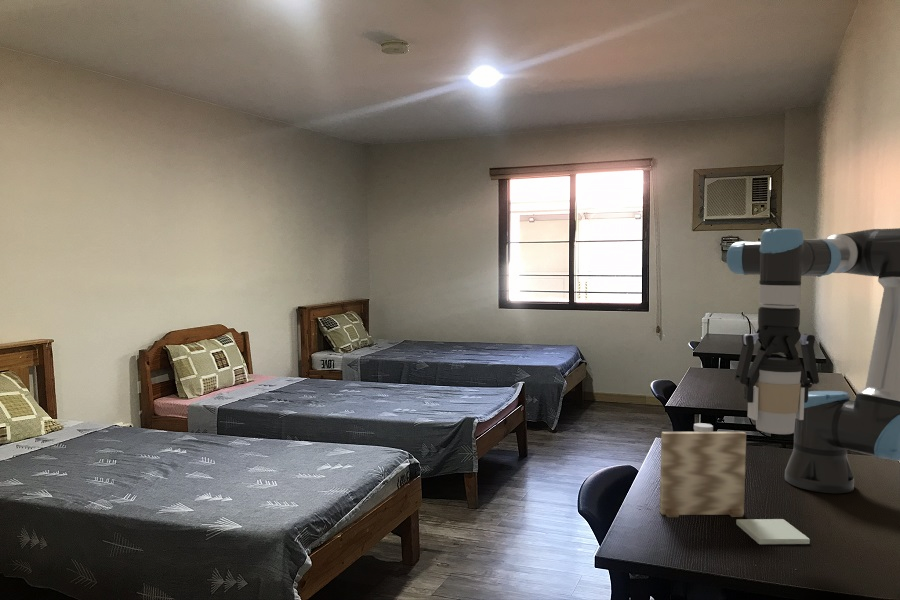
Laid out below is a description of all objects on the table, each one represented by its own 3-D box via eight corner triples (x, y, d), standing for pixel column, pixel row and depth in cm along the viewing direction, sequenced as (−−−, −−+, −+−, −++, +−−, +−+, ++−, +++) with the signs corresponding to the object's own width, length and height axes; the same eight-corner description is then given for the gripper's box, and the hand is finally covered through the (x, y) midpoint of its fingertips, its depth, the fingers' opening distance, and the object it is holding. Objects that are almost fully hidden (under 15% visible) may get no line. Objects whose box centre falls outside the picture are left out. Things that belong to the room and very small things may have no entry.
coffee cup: (806, 437, 130) (809, 360, 129) (756, 434, 131) (758, 358, 130) (792, 425, 138) (795, 353, 137) (745, 423, 140) (748, 352, 139)
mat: (783, 523, 141) (783, 519, 141) (809, 543, 131) (809, 538, 131) (736, 524, 141) (736, 519, 141) (759, 544, 131) (759, 539, 131)
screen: (737, 509, 149) (740, 429, 148) (746, 516, 145) (749, 435, 144) (657, 509, 149) (659, 430, 148) (664, 517, 145) (666, 435, 144)
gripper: (821, 305, 137) (816, 414, 139) (718, 304, 137) (714, 414, 138) (843, 307, 130) (838, 422, 131) (734, 307, 129) (730, 422, 131)
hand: (775, 418), depth 135 cm, fingers closed on coffee cup, 8 cm apart
